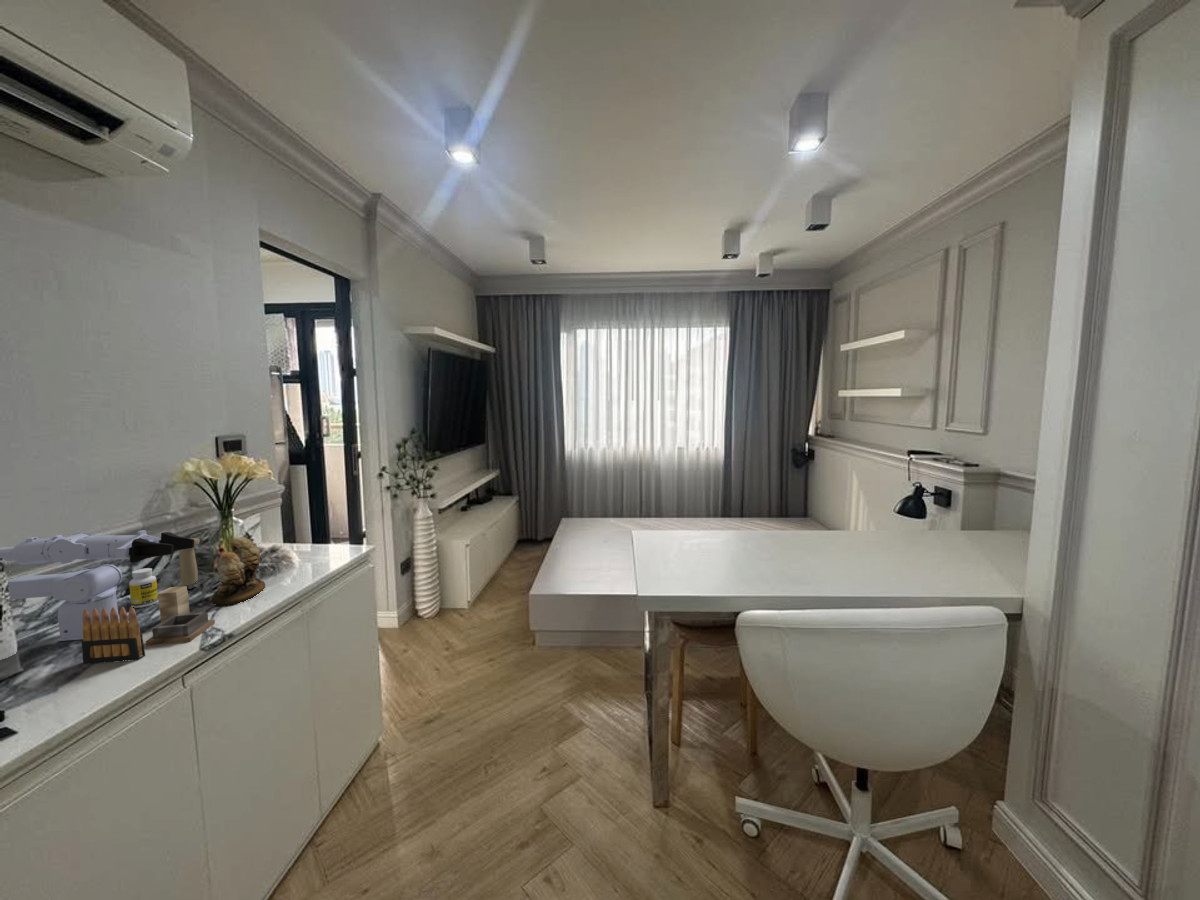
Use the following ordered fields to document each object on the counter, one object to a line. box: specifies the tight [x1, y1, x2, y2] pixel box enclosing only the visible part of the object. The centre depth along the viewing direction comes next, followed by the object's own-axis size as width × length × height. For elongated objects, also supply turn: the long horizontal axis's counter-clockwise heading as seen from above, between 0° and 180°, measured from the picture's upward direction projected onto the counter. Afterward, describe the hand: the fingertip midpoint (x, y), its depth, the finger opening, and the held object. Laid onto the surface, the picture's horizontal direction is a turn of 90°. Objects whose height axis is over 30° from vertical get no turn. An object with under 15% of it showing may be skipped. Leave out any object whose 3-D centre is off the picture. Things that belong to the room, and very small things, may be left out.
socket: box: [145, 611, 216, 646], centre depth 111 cm, size 9×9×4 cm
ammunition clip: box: [81, 605, 146, 665], centre depth 100 cm, size 11×2×12 cm, turn 98°
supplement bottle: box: [128, 567, 159, 609], centre depth 128 cm, size 5×5×10 cm
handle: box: [178, 537, 201, 586], centre depth 138 cm, size 5×6×15 cm
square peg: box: [158, 585, 191, 623], centre depth 119 cm, size 4×4×8 cm
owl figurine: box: [210, 537, 266, 607], centre depth 134 cm, size 18×12×17 cm, turn 22°
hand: (183, 546), depth 114 cm, fingers open, 7 cm apart
